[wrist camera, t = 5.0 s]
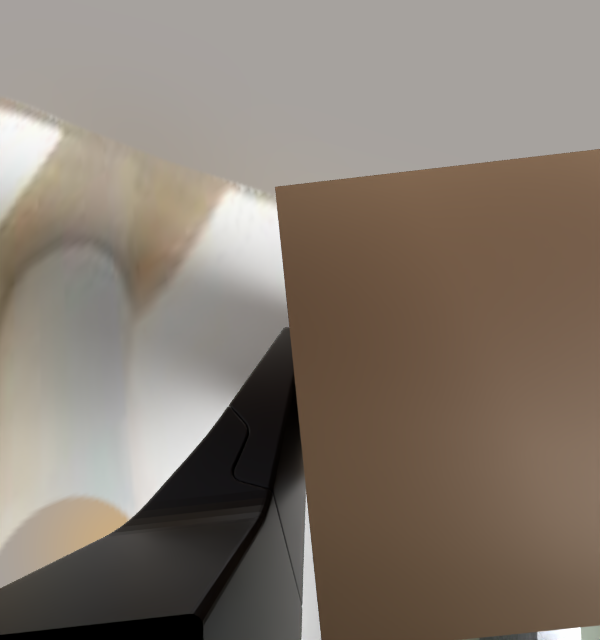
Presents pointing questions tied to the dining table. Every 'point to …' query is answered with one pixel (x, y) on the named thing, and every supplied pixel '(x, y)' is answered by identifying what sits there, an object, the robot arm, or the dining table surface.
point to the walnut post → (449, 395)
